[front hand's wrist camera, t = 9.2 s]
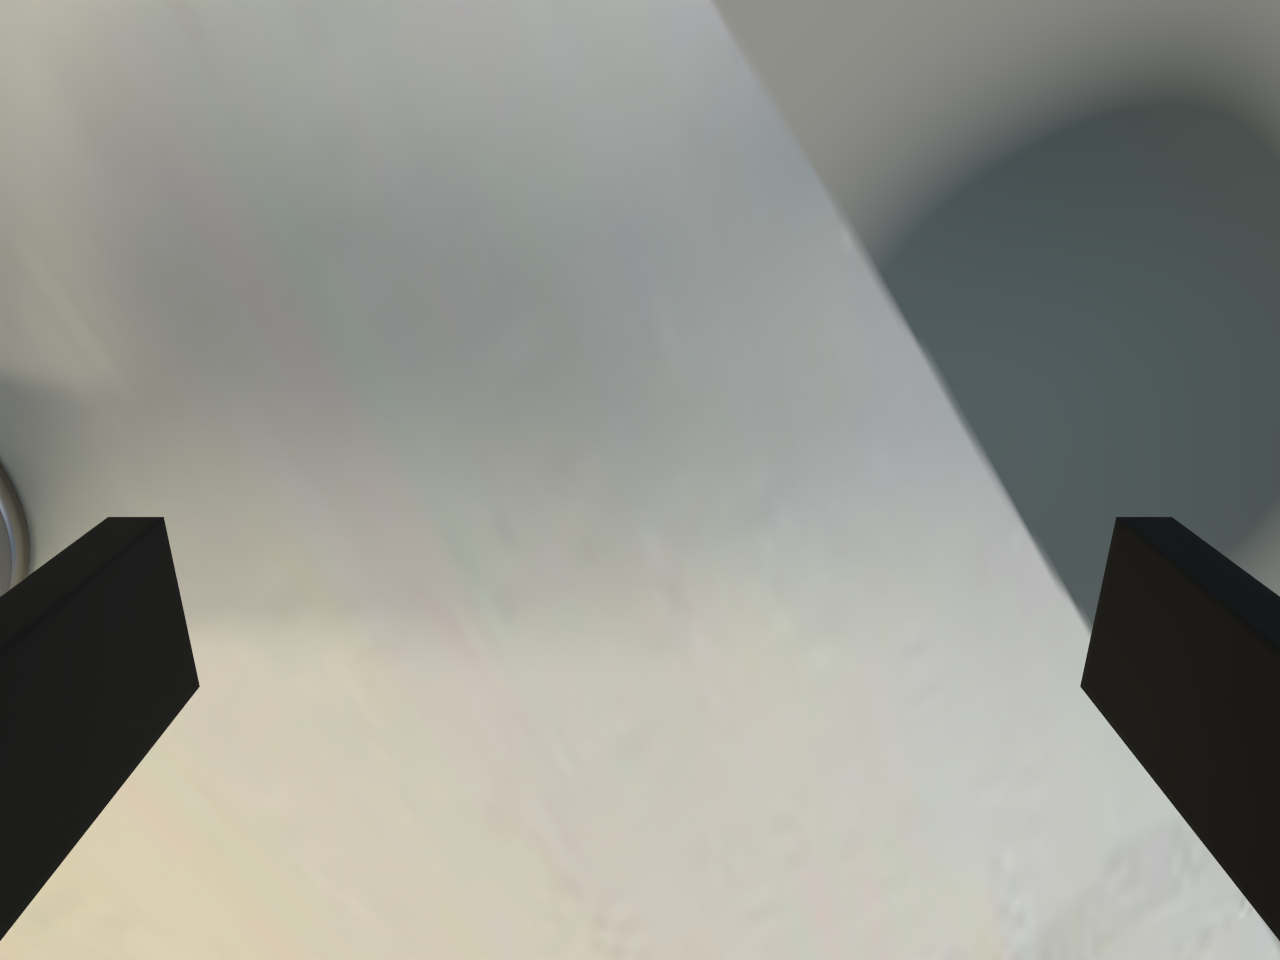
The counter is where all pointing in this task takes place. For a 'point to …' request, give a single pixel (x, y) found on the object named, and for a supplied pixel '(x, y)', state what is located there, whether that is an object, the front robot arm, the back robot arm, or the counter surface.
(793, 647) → the counter surface
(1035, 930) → the counter surface
